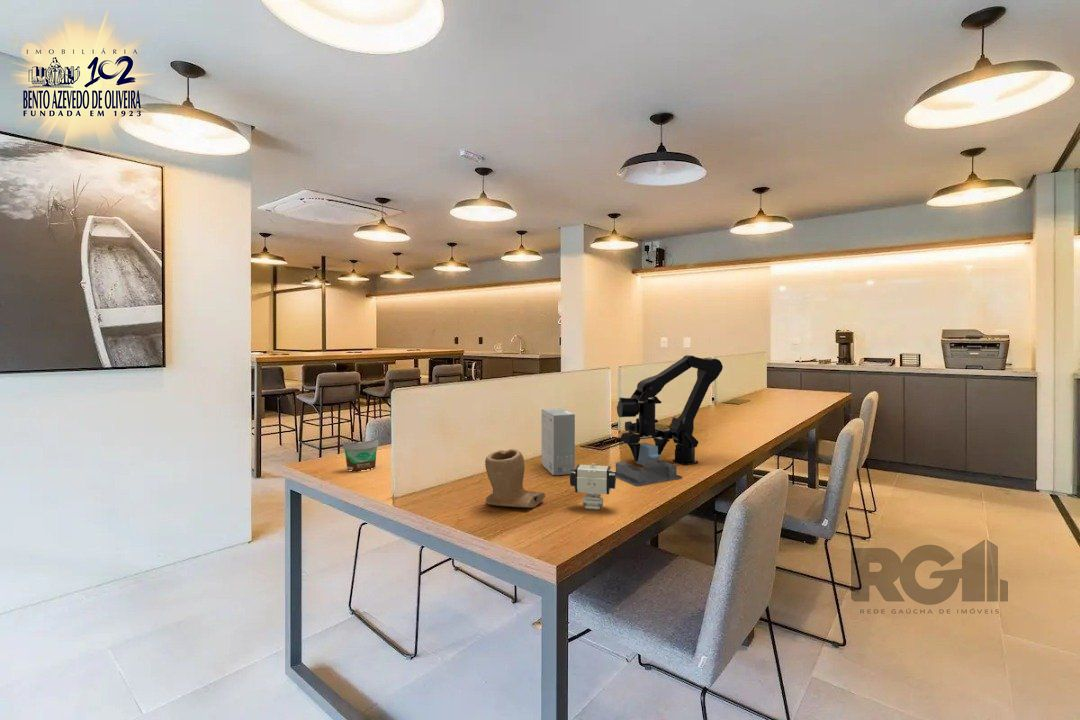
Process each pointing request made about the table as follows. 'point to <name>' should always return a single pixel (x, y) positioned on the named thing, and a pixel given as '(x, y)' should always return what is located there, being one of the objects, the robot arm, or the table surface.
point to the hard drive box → (558, 441)
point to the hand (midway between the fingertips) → (646, 460)
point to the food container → (361, 455)
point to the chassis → (647, 472)
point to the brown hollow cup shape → (509, 480)
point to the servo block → (647, 452)
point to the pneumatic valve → (593, 483)
